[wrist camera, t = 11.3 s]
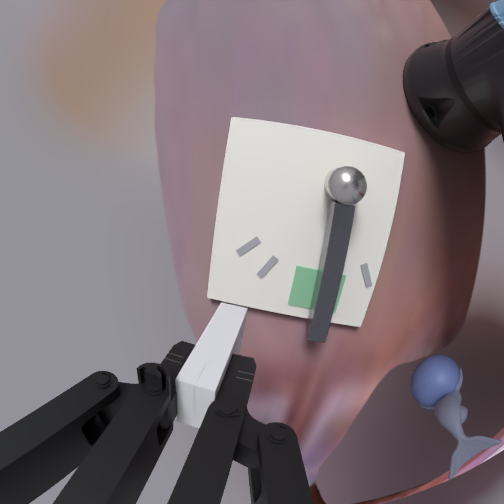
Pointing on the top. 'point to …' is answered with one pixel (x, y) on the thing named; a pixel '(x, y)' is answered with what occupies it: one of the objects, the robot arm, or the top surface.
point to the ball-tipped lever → (334, 246)
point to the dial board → (297, 218)
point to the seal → (447, 405)
